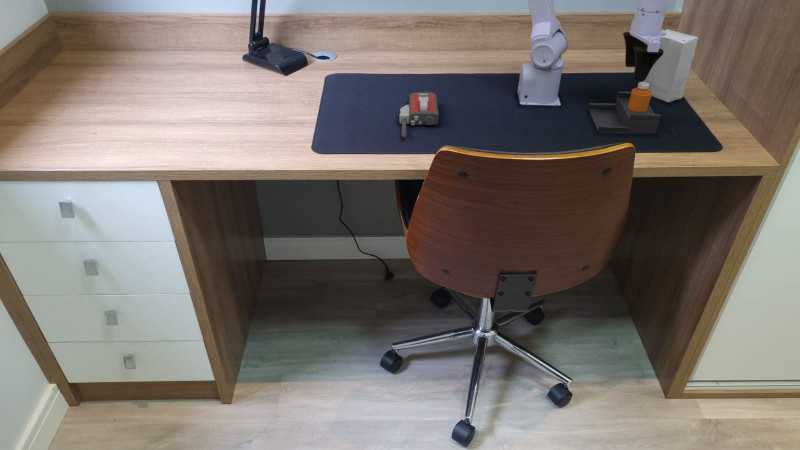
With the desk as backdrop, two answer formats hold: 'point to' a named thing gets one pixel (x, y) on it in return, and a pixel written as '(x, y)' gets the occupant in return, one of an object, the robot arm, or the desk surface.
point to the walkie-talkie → (419, 110)
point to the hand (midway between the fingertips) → (634, 73)
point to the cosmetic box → (672, 66)
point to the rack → (623, 117)
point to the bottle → (640, 98)
